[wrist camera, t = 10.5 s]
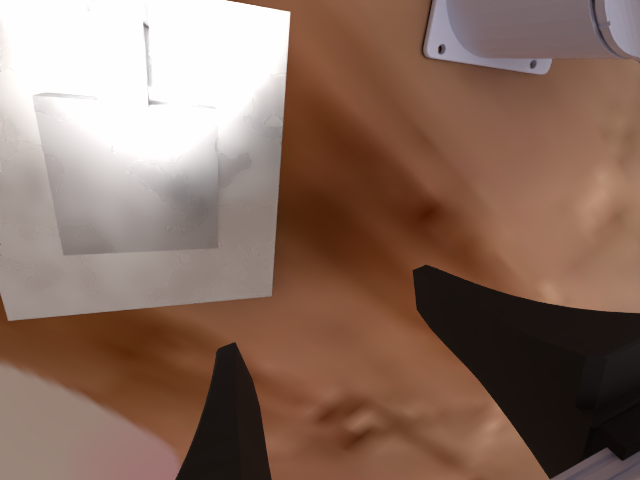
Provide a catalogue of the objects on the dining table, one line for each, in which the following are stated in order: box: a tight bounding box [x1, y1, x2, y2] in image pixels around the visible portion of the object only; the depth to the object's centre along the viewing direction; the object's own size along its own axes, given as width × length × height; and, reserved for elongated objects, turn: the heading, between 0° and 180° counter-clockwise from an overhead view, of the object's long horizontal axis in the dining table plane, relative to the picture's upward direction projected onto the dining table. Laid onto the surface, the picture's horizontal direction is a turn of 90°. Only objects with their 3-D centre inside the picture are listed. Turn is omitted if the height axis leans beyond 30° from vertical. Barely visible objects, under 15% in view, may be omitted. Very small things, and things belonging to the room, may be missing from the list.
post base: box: [0, 0, 290, 321], centre depth 17 cm, size 14×16×5 cm
